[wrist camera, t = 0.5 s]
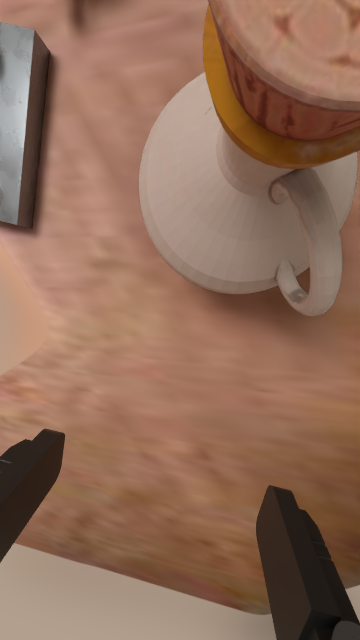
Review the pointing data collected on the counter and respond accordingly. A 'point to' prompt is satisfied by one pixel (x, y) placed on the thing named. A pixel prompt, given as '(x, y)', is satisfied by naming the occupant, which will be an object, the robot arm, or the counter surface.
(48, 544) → the counter surface
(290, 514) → the robot arm
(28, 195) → the panel
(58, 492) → the counter surface
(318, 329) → the counter surface
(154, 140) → the jug
